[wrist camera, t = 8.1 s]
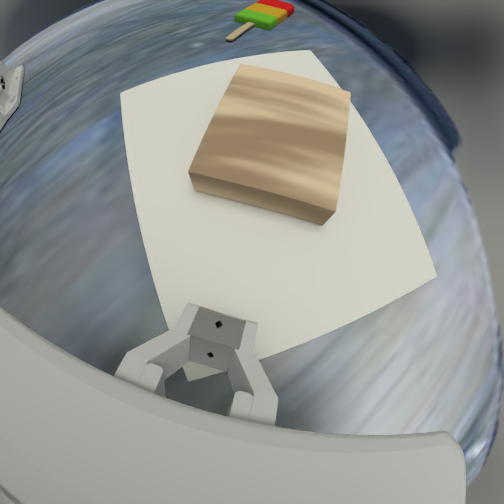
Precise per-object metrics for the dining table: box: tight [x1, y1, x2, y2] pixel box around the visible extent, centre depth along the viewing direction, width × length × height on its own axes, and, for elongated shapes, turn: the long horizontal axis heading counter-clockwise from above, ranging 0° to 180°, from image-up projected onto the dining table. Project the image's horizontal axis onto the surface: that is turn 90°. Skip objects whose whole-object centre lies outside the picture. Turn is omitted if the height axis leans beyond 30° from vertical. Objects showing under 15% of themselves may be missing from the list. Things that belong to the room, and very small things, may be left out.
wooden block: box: [188, 64, 351, 225], centre depth 20 cm, size 3×10×12 cm
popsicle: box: [226, 0, 294, 41], centre depth 26 cm, size 6×15×2 cm, turn 151°
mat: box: [120, 50, 437, 382], centre depth 21 cm, size 28×22×1 cm
